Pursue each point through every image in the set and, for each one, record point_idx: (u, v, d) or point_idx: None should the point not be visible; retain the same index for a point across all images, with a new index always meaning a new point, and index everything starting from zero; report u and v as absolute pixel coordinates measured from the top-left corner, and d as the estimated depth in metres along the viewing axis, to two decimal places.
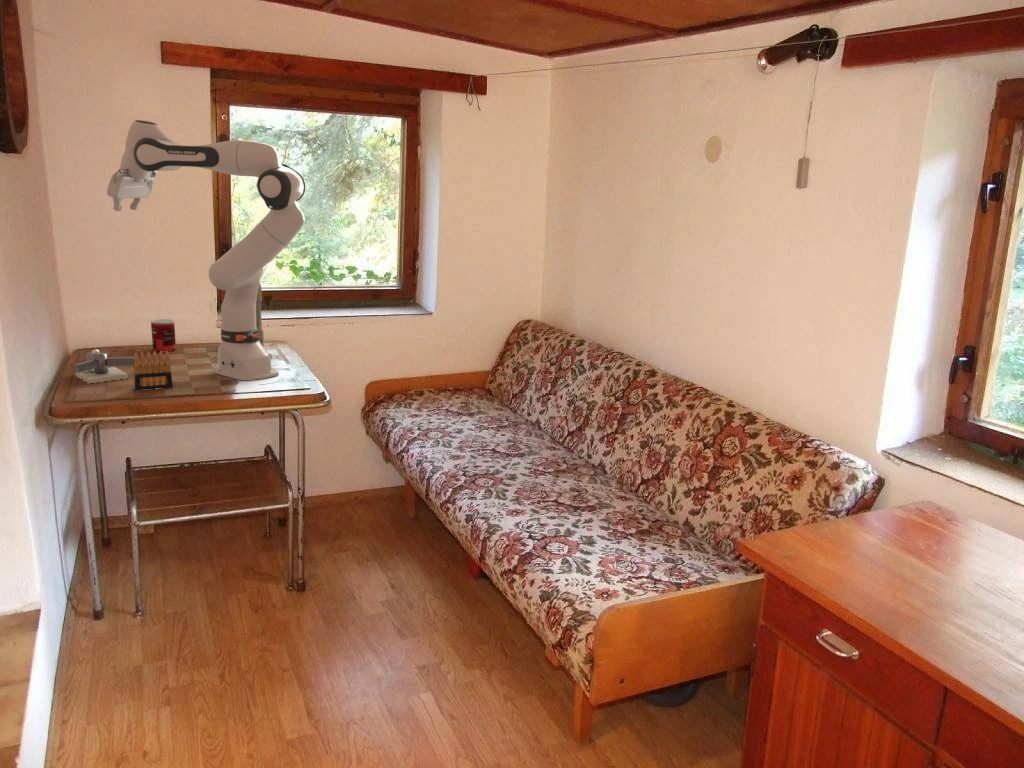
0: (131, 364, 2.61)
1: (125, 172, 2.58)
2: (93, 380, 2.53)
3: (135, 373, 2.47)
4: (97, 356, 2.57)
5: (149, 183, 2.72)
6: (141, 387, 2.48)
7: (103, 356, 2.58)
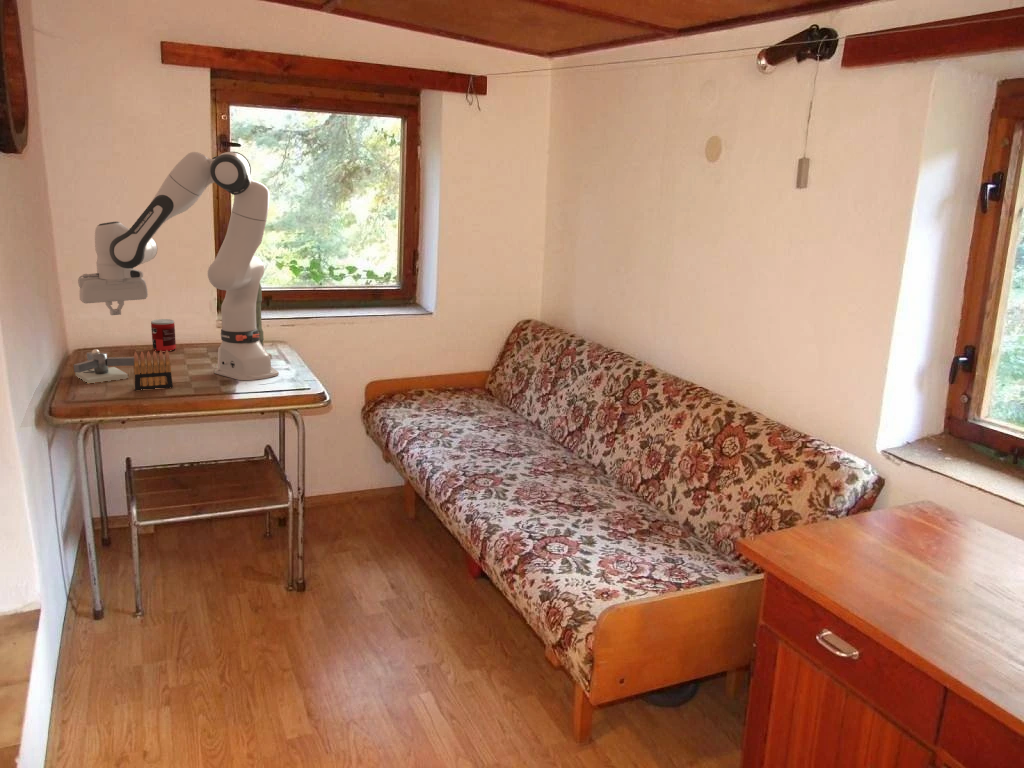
0: (131, 364, 2.61)
1: (93, 276, 2.58)
2: (93, 380, 2.53)
3: (135, 373, 2.47)
4: (97, 356, 2.57)
5: (139, 284, 2.67)
6: (141, 387, 2.48)
7: (103, 356, 2.58)
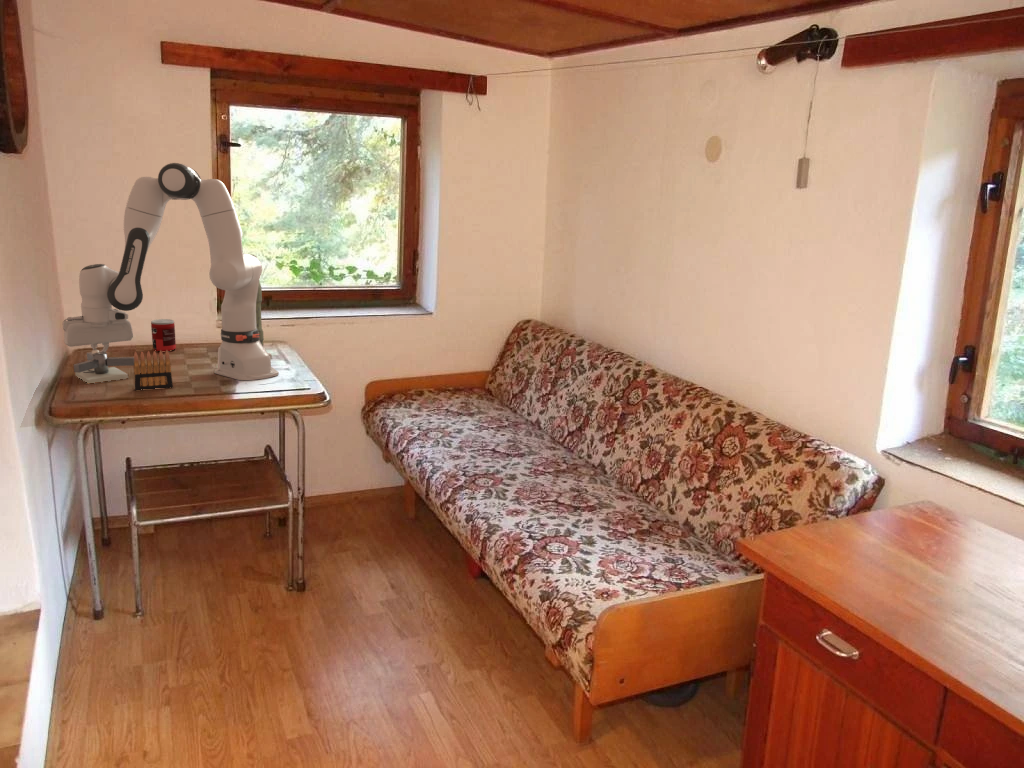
0: (131, 364, 2.61)
1: (78, 319, 2.58)
2: (93, 380, 2.53)
3: (135, 373, 2.47)
4: (97, 356, 2.57)
5: (124, 326, 2.67)
6: (141, 387, 2.48)
7: (103, 356, 2.58)
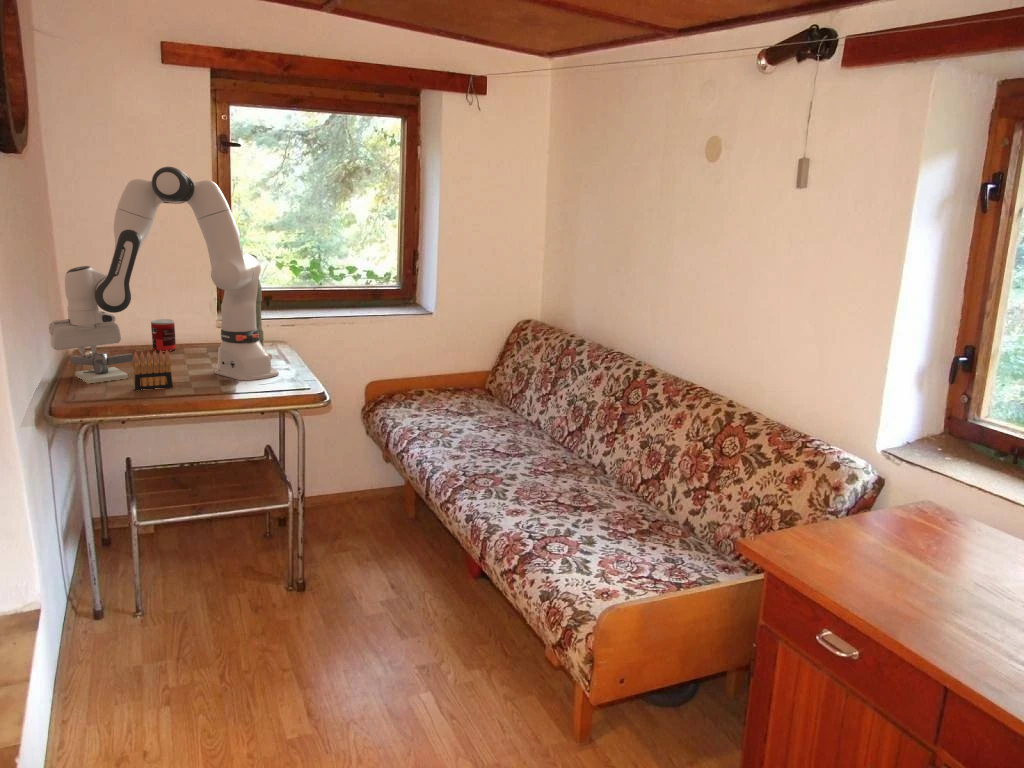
0: (130, 360, 2.66)
1: (64, 322, 2.55)
2: (93, 380, 2.53)
3: (135, 373, 2.47)
4: (101, 356, 2.57)
5: (111, 328, 2.64)
6: (141, 387, 2.48)
7: (106, 355, 2.59)
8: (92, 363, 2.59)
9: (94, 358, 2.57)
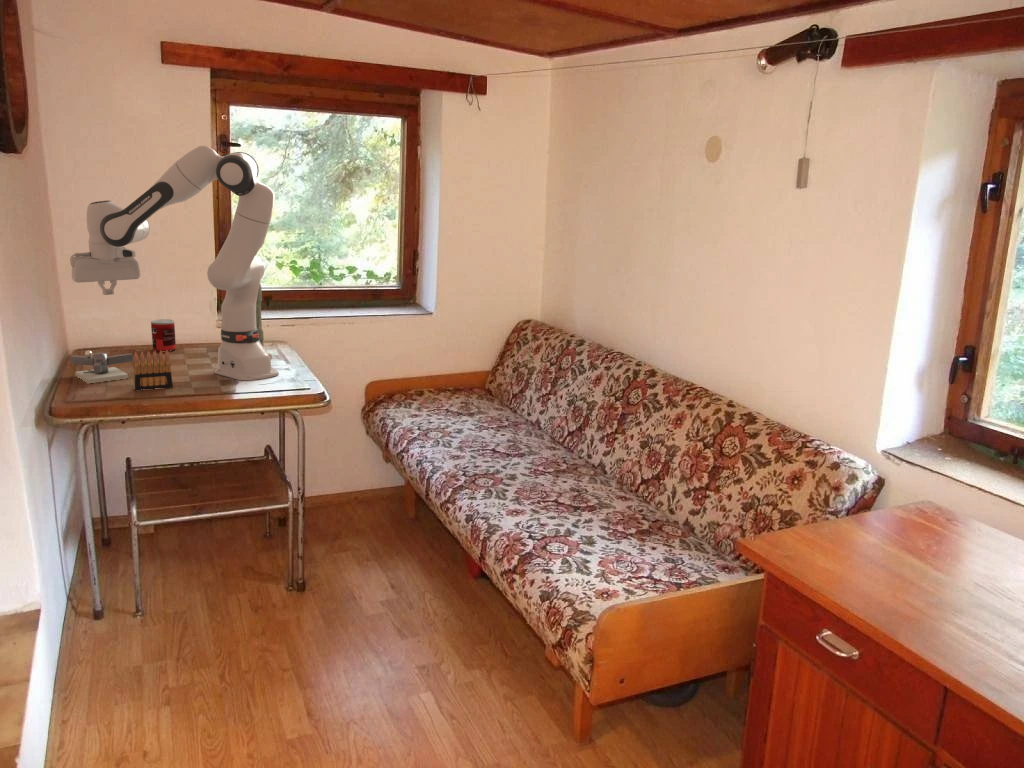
0: (130, 360, 2.66)
1: (86, 255, 2.58)
2: (93, 380, 2.53)
3: (135, 373, 2.47)
4: (101, 356, 2.57)
5: (131, 264, 2.66)
6: (141, 387, 2.48)
7: (106, 355, 2.59)
8: (92, 363, 2.59)
9: (94, 358, 2.57)
